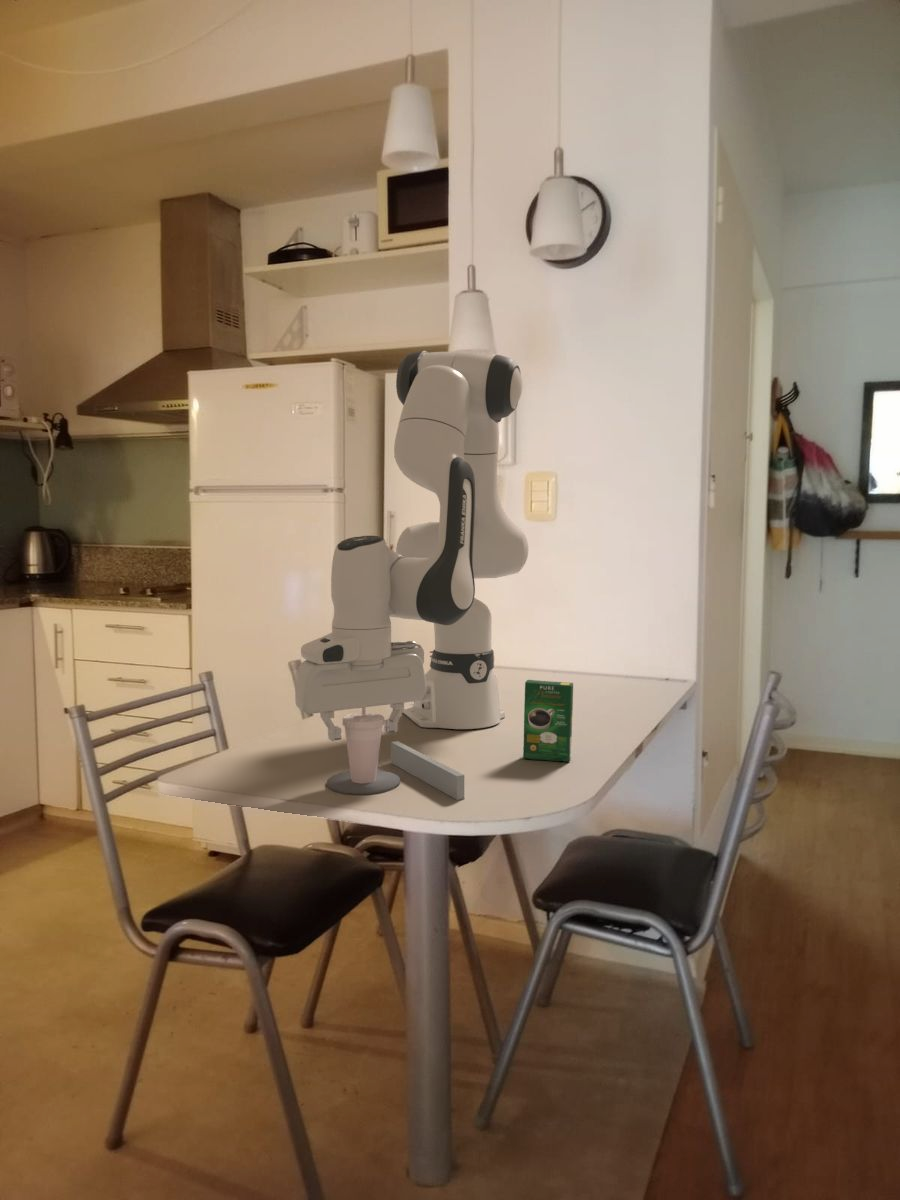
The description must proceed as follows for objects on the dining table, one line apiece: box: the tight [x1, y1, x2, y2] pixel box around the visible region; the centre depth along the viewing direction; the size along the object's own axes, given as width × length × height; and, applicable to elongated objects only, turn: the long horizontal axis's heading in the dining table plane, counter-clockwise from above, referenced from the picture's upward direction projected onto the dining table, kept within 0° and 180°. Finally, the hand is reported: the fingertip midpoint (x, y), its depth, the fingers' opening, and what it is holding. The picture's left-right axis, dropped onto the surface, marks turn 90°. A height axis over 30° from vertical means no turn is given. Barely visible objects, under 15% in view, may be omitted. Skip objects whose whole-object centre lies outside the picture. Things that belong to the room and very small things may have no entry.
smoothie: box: [341, 707, 385, 784], centre depth 136 cm, size 6×6×14 cm
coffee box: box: [522, 679, 574, 763], centre depth 149 cm, size 8×3×13 cm, turn 75°
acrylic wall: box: [390, 740, 465, 801], centre depth 138 cm, size 22×1×4 cm, turn 29°
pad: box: [326, 769, 401, 796], centre depth 137 cm, size 11×11×1 cm
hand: (363, 735), depth 136 cm, fingers open, 8 cm apart
